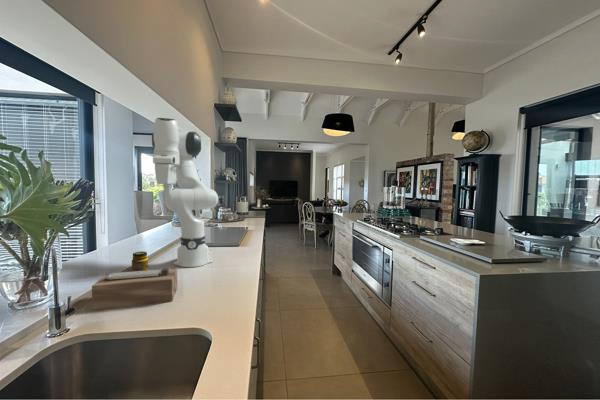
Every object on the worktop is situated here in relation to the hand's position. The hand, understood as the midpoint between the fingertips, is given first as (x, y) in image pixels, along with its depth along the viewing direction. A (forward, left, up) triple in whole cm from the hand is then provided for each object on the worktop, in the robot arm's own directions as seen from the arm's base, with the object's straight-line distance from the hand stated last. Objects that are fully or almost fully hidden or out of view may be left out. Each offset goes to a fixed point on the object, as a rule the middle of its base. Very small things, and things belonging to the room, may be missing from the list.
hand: (167, 195), depth 104 cm
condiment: (-12, -14, -37) cm, 42 cm away
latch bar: (+7, -10, -29) cm, 31 cm away
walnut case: (+7, -9, -37) cm, 39 cm away
